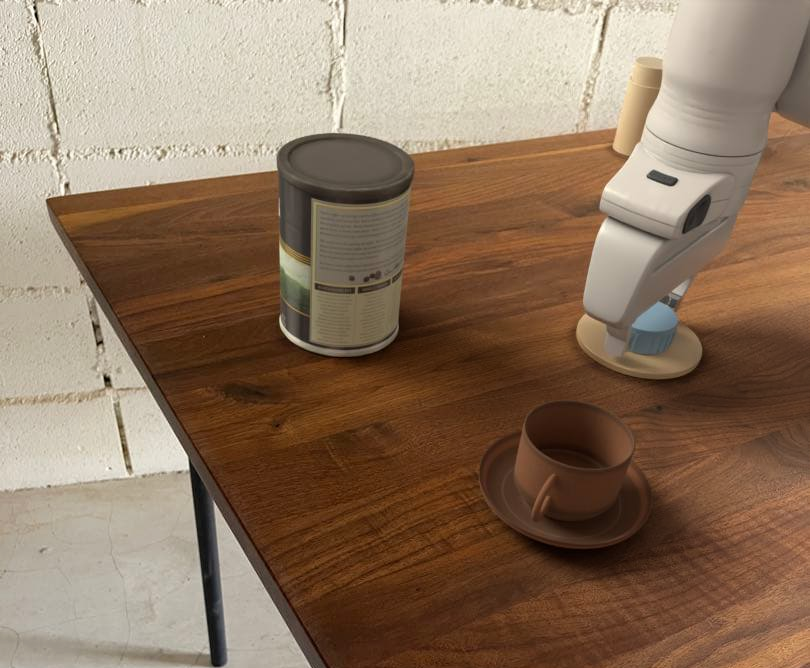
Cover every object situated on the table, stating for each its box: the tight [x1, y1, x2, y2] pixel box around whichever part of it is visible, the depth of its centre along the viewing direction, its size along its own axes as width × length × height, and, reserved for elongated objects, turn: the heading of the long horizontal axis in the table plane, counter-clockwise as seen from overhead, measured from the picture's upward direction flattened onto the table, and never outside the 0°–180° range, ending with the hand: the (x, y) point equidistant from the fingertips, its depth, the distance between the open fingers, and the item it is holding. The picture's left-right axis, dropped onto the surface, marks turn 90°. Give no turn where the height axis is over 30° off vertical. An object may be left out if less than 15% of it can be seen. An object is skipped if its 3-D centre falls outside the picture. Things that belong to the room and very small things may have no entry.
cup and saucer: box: [478, 399, 654, 550], centre depth 60 cm, size 12×12×6 cm
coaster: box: [575, 313, 703, 380], centre depth 78 cm, size 11×11×1 cm
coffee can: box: [275, 132, 416, 358], centre depth 71 cm, size 10×10×14 cm
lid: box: [606, 302, 679, 355], centre depth 77 cm, size 6×6×2 cm
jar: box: [612, 56, 663, 157], centre depth 107 cm, size 5×5×10 cm
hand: (642, 330), depth 77 cm, fingers open, 8 cm apart
